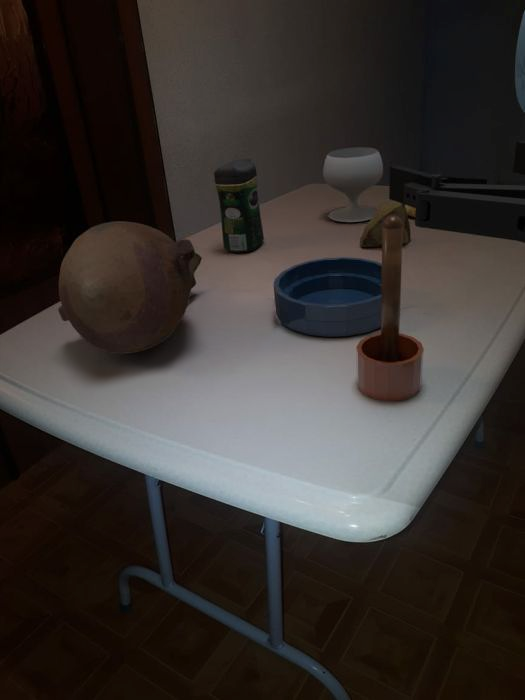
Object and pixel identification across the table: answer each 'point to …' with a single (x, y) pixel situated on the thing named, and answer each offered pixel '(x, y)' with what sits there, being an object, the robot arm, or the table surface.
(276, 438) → the table surface
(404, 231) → the rock
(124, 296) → the jug
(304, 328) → the bowl
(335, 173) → the chalice
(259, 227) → the coffee jar
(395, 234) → the paper towel holder
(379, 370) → the crock
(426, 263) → the table surface
